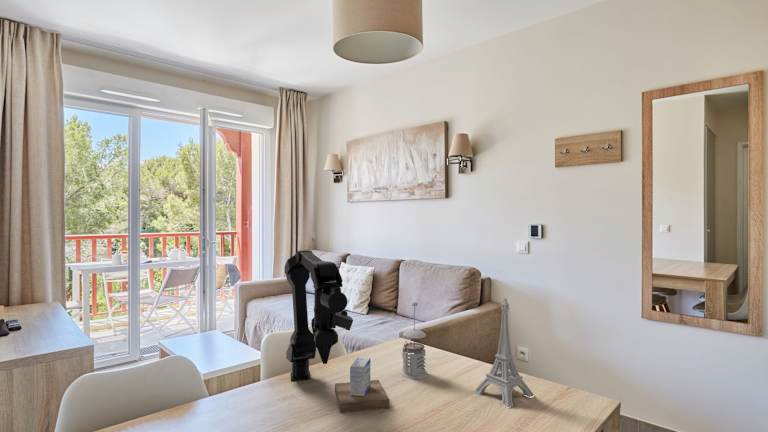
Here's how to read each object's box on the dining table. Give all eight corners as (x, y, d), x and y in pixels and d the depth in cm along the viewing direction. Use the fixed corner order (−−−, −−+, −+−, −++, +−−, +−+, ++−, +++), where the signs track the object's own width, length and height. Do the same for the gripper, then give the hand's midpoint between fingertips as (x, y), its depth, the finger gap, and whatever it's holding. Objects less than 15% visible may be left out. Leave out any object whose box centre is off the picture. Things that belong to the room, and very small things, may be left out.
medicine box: (364, 397, 119) (364, 367, 119) (349, 395, 120) (349, 366, 120) (370, 386, 127) (370, 358, 127) (356, 384, 128) (356, 356, 128)
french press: (432, 372, 145) (433, 301, 145) (417, 383, 135) (418, 307, 135) (408, 366, 150) (409, 298, 150) (391, 377, 140) (392, 303, 140)
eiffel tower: (500, 382, 137) (501, 292, 137) (535, 397, 126) (536, 299, 126) (472, 392, 129) (473, 297, 129) (508, 409, 118) (509, 304, 118)
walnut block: (334, 391, 128) (334, 383, 128) (378, 387, 132) (378, 379, 132) (340, 412, 115) (340, 403, 115) (389, 407, 118) (389, 399, 118)
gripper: (356, 311, 114) (355, 367, 114) (346, 297, 132) (346, 346, 132) (315, 313, 112) (315, 370, 112) (311, 299, 130) (311, 348, 130)
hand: (323, 358), depth 122 cm, fingers open, 9 cm apart
